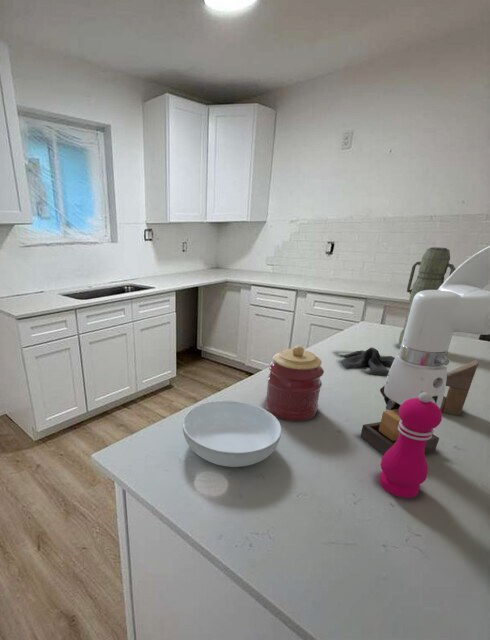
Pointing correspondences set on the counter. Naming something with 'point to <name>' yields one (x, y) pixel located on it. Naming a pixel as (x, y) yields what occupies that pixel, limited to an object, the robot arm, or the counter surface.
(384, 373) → the cloth
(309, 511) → the counter surface
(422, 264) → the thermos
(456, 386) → the wooden block structure
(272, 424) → the serving bowl
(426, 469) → the pepper mill
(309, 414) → the kitchen canister
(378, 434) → the socket
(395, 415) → the tan rectangular block
